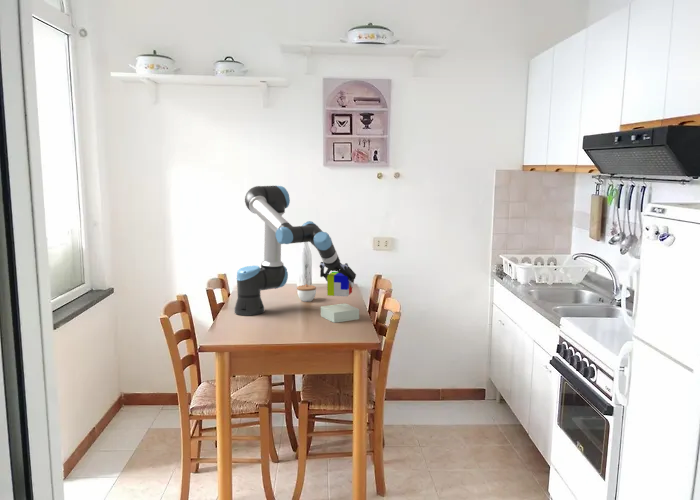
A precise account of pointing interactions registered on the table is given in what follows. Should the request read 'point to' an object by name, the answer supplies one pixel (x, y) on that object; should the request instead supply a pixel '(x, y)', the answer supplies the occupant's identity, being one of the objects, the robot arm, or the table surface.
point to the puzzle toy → (338, 285)
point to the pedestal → (339, 313)
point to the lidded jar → (306, 292)
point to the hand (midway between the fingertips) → (342, 284)
